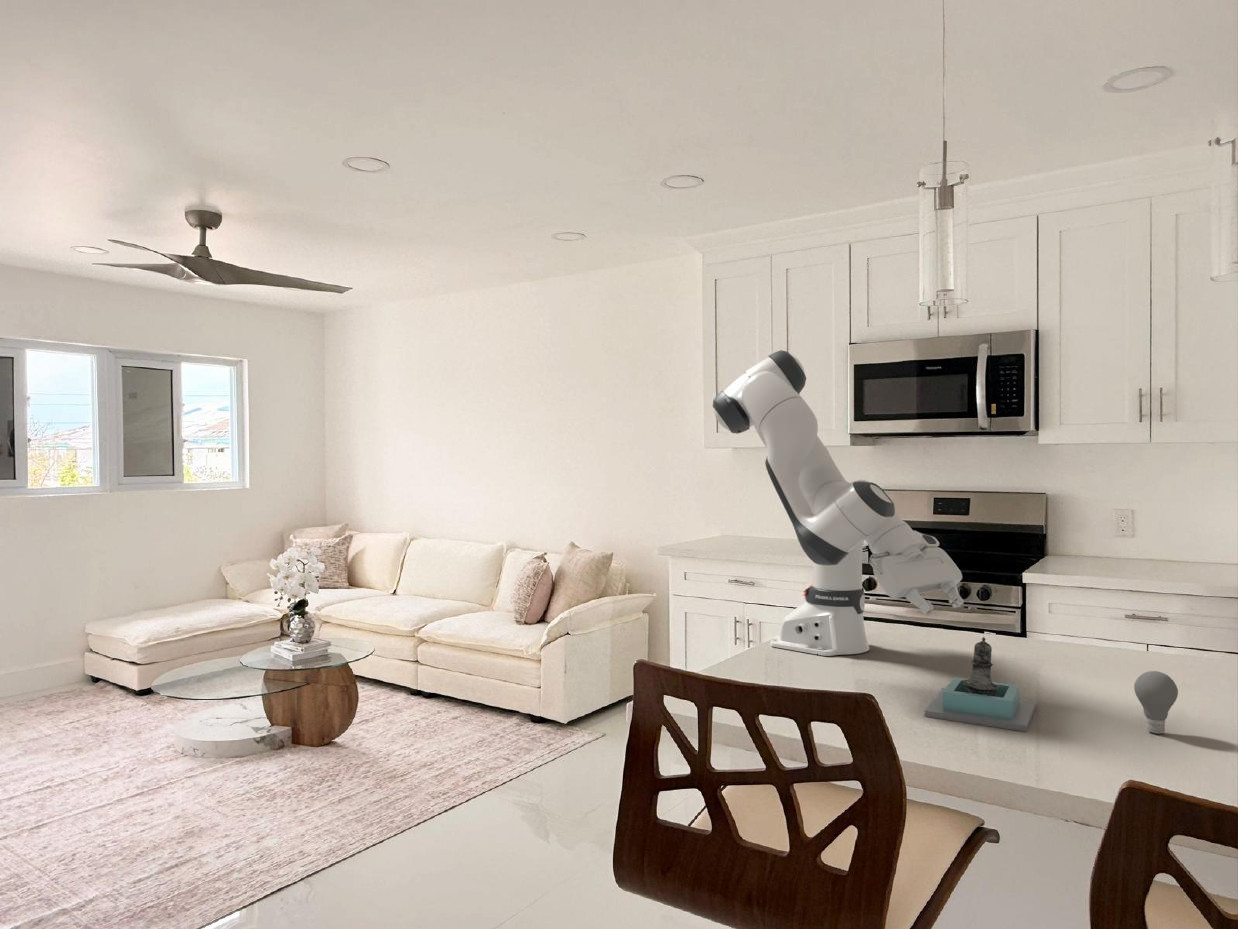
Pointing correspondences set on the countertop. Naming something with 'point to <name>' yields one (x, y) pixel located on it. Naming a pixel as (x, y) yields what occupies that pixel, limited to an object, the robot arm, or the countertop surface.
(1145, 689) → the light bulb
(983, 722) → the socket
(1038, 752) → the countertop surface
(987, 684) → the salt shaker
